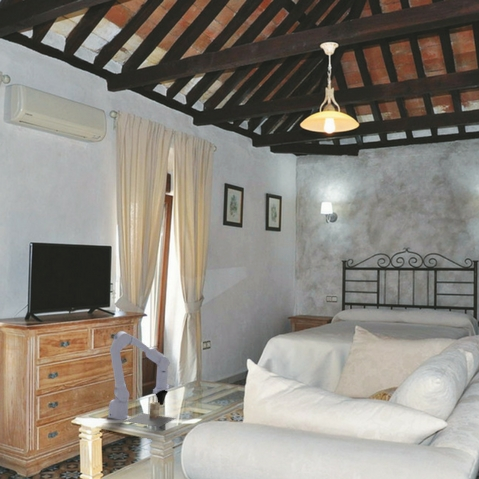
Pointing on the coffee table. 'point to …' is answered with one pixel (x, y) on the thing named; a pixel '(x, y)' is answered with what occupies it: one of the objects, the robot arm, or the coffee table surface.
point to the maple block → (154, 409)
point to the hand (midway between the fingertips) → (160, 404)
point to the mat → (150, 420)
